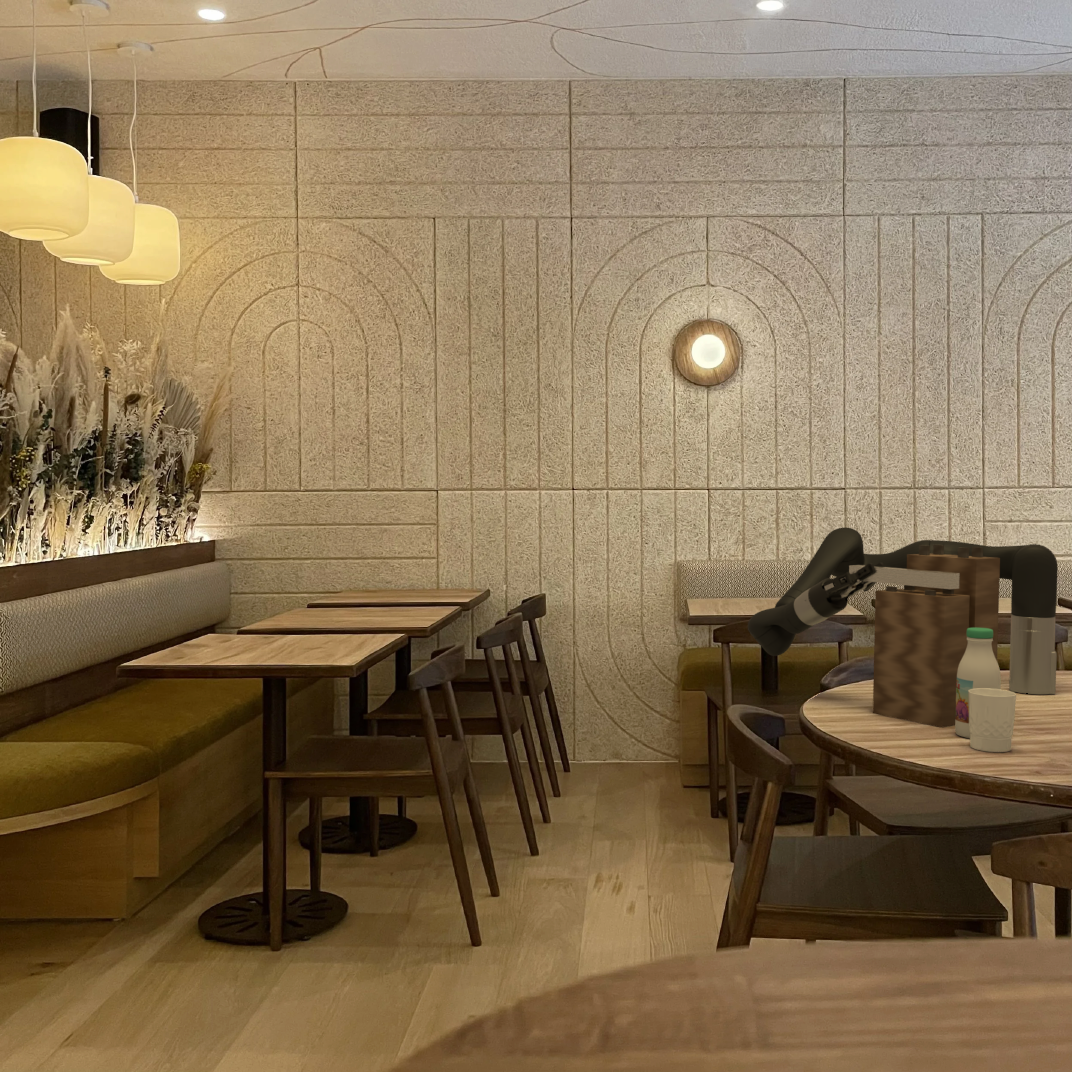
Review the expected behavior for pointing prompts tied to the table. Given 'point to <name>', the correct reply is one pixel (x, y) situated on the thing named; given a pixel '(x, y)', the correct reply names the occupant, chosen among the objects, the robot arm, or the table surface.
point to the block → (912, 577)
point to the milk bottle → (975, 674)
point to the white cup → (991, 719)
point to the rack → (931, 635)
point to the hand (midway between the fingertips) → (878, 567)
